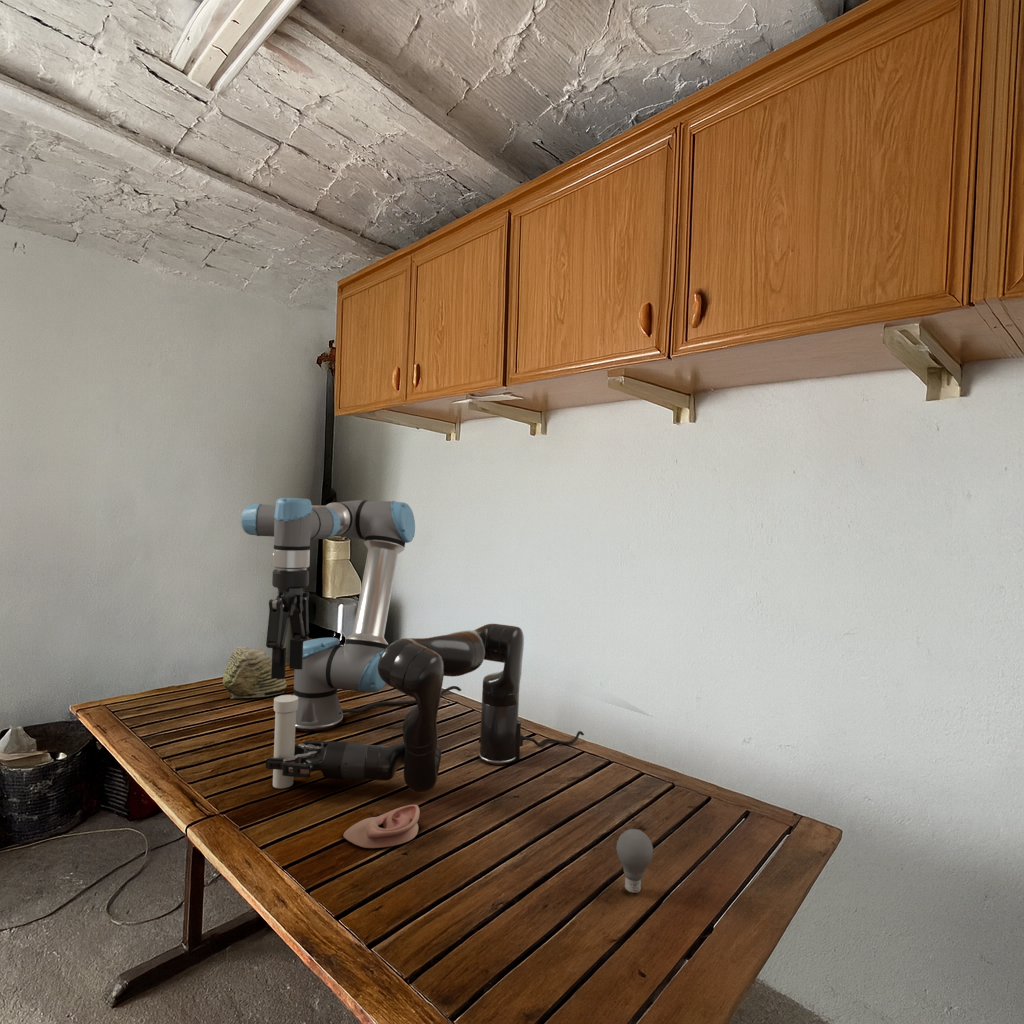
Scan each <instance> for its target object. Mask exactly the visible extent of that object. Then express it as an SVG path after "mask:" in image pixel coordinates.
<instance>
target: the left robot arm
mask: <svg viewBox="0 0 1024 1024" xmlns="http://www.w3.org/2000/svg"><path fill="white" fill-rule="evenodd" d="M412 509H413V508H412V507H411V506H410V505H409V504H408V503H406V502H402V501H396V500H392V501H390V500H389V501H388V500H366V499H357V500H355V499H354V500H347V501H337V502H330V503H327V504H326V505H313V504H312V501H311V499H309V498H301V497H300V498H298V497H279V498H278V499H276V501H275V504H263V503H253V504H248V505H246V506H245V508H244V509H243V510H242V513H241V517H240V518H241V520H240V524H241V528H242V530H243V531H244V533H245V534H247V535H250V536H257V537H273V553H272V558H273V560H272V561H273V562H272V567H274V569H273V571H272V574H271V575H272V576H271V577H272V578H271V585H272V587H274V588H277V594H276V598H275V599H272V598H271V599H269V601H268V611H269V612H268V621H267V631H266V640H265V641H266V642H265V646H266V648H267V649H271V659H272V672H271V678H275V679H285V680H286V663H287V660H286V659H287V647H285V642H286V638H287V632H288V629H289V625H290V630H291V637H292V639H290V641H289V667H288V669H290V670H294V672H293V695H294V696H297V697H298V709H297V710H296V725H295V732H301V733H316V732H325V731H329V730H332V729H335V728H337V727H339V726H340V725H342V723H343V722H344V714H357V713H361V712H365V711H366V710H368V709H371V708H373V707H377V706H378V707H379V706H400V705H401V706H402V705H413V704H417V701H416V699H411V700H401V701H400V700H399V701H398V700H397V701H376V702H372V703H369V704H367V705H365V706H362V707H361V708H344V709H343V708H342V706H341V702H340V699H339V695H338V690H344V691H345V690H346V691H353V692H359V693H378V692H380V691H381V690H382V689H383V688H384V687H385V685H386V684H387V683H385V682H384V681H383V680H382V679H381V677H380V675H379V673H378V662H379V659H380V657H381V655H382V653H383V652H384V651H385V649H386V648H387V647H388V646H389V643H388V642H387V640H386V639H385V633H386V626H387V621H388V615H389V610H390V603H391V598H392V591H393V586H394V580H395V575H396V569H397V563H398V556H399V554H401V553H402V552H403V551H405V549H406V543H407V544H408V543H411V542H412V541H413V539H414V537H415V533H416V520H415V515H414V512H413V510H412ZM332 537H345V538H349V539H357V540H364V542H363V545H364V546H365V547H366V548H367V555H366V560H365V567H364V571H363V577H362V580H361V581H362V582H361V587H360V592H359V598H358V602H357V608H356V612H355V619H354V624H353V629H352V633H351V634H350V635H348V636H347V637H346V638H345V642H344V645H342V644H340V643H341V641H340V639H339V638H338V637H318V638H313V639H309V633H310V627H309V626H310V624H309V621H310V620H309V618H310V617H309V598H310V592H309V591H303V589H304V588H307V587H308V586H309V581H310V571H309V570H308V568H309V567H311V565H310V562H311V561H310V560H311V541H312V540H327V539H330V538H332ZM452 690H457V692H461V691H462V689H461V688H460V687H459V686H456V685H452V686H449V687H446V688H444V689H442V690H441V695H443V694H446V693H447V692H449V691H452Z"/></svg>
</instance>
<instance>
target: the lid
mask: <svg viewBox="0 0 1024 1024" xmlns="http://www.w3.org/2000/svg"><path fill="white" fill-rule="evenodd" d="M297 709H298V697H297V696H294V694H282V695H279V696H275V697H274V698H273V711H274V712H279V713H288V712H293V711H296V710H297Z"/></svg>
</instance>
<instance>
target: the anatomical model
mask: <svg viewBox="0 0 1024 1024" xmlns="http://www.w3.org/2000/svg"><path fill="white" fill-rule="evenodd" d="M420 814H421V813H420V807H419V805H417V804H408V805H404V806H400V807H397V808H395V809H392V810H390V811H388V812H385V813H383V814H380V815H378V816H372V817H367V818H364V819H361V820H360V821H358V822H356V823H354V824H353V825H351V826H350V827H348V828H347V829H346V830H345V831H344V833H343V835H342V836H343V838H344V839H345V840H346V841H348V842H349V843H352V844H353V845H355V846H358V847H360V848H364V849H380V848H388V847H395V846H399V845H402V844H405V843H407V842H410V841H412V840H414V839H415V838H416V836H417V835H418V832H419V823H418V821H419V819H420Z"/></svg>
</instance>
